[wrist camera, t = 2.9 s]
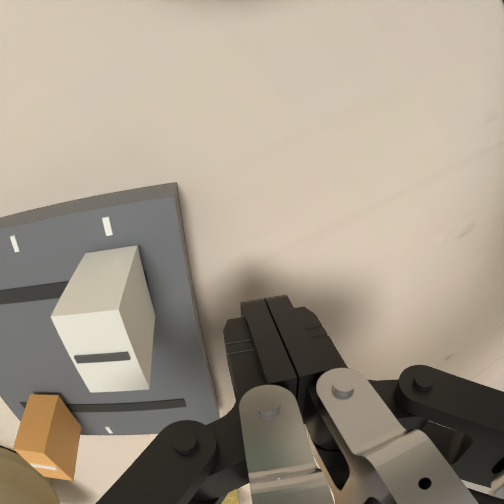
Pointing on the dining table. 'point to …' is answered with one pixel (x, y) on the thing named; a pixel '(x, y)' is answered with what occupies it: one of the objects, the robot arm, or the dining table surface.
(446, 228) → the dining table surface
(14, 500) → the planter bowl
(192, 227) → the dining table surface
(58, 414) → the orange white-striped block
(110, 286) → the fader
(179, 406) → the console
